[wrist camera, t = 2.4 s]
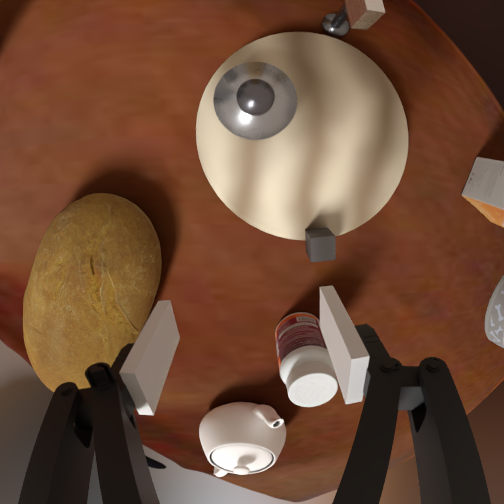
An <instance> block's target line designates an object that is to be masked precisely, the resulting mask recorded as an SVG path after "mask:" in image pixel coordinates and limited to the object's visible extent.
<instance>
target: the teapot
mask: <svg viewBox="0 0 504 504" xmlns="http://www.w3.org/2000/svg"><path fill="white" fill-rule="evenodd" d="M199 436H200V441H201V444H202V447H203V450H204V452H205V454H206V457H207V459H208V460H209V462H210V463H211V464H212V465H213V466H214V467H215V468H214V474H215V475H216V476H218V477H222V476H224V475H226V474H227V473H228V472H229V473H235V474H239V475H244V474H253V473H258V472H261V471H264V470H266V469H268V468H270V467H271V466H272V465H273V464H274V463H275V462H276V460H277V458H278V456H279V454H280V452H281V450H282V448H283V445H284V443H285V438H286V428H285V424H284V420H283V419H281V418H280V416H279V415H277V413H276V411H275V410H274V409H273V408H272V407H270V406H268V405H258V404H254V403H249V402H234V403H229V404H225V405H221V406H219V407H217V408H214V409H213V410H211V411H210V412H208V413H207V414H206V416H205V417H204V418H203V419H202V421H201V424H200V429H199Z"/></svg>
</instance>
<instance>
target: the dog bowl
mask: <svg viewBox="0 0 504 504" xmlns="http://www.w3.org/2000/svg"><path fill="white" fill-rule="evenodd" d="M485 332H486V335H487V337H488V339H489V340H490V341H492V342H494V343H495V344H497V345H499V346H501V347H503V348H504V275H503V277H502V278H501V280H500V281H499V283H498V285H497V286H496V288H495V290H494V292H493V295H492V297H491V299H490V302H489V305H488V308H487V312H486V317H485Z"/></svg>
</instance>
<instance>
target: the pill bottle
mask: <svg viewBox="0 0 504 504" xmlns="http://www.w3.org/2000/svg"><path fill="white" fill-rule="evenodd" d="M275 336H276V346H277V355H278V363H279V370H280V376H281V379H282V381H283V382H284V383H285V384H286V387H287V392H288V397H289V399H290V400H291V401H292V402H293V403H294V404H296V405H299V406H303V407H313V406H318V405H321V404H323V403H325V402H327V401H328V400H330V399H331V398H332V397H333V396H334V395H335V393H336V391H337V388H338V383H337V380H336V376H335V373H334V371H335V370H334V367H333V364H332V361H331V358H330V355H329V352H328V349H327V346H326V343H325V340H324V337H323V334H322V332H321V329H320V321H319V320H318V318H317V317H315V316H314V315H312V314H310V313H306V312H297V313H293V314H290V315H288V316H286V317H285V318H283V319H282V320H281V321H280V323H279V324H278V326H277V328H276V333H275Z"/></svg>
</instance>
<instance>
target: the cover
mask: <svg viewBox="0 0 504 504" xmlns="http://www.w3.org/2000/svg"><path fill="white" fill-rule="evenodd" d="M213 103H214V109H215V112H216V115H217V117H218V119H219V120H220V122H221V123H222V124H223V126H224V127H225V128H226V129H228V130H229V131H230V132H231V133H232V134H234V135H235V136H237V137H239V138H242V139H245V140H250V141H260V140H265V139H269V138H271V137H273V136H275V135H276V134H278V133H279V132H281V131H282V130H283V129H285V128H286V127H287V126H288V125H289V123H290V122H291V121H292V119H293V117H294V115H295V112H296V109H297V93H296V89H295V86H294V84H293V82H292V81H291V79H290V78H289V77H288V76H287V75H286V74H285V73H284V72H283V71H282V70H280V69H279V68H277V67H275V66H273V65H271V64H268V63H264V62H247V63H243V64H240V65H237V66H235V67H233V68H232V69H230V70H229V71H227V72H226V73H225V74H224V75H223V76H222V78H221V79H220V80H219V82H218V84H217V86H216V88H215V92H214V98H213Z"/></svg>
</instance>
